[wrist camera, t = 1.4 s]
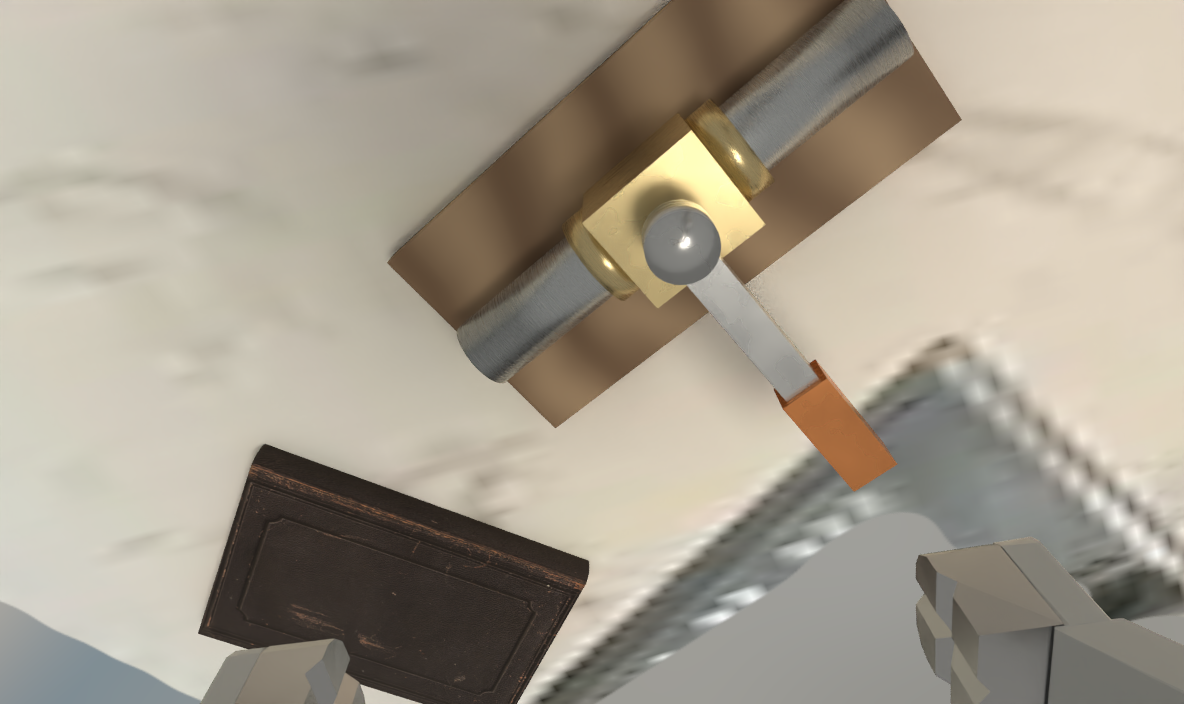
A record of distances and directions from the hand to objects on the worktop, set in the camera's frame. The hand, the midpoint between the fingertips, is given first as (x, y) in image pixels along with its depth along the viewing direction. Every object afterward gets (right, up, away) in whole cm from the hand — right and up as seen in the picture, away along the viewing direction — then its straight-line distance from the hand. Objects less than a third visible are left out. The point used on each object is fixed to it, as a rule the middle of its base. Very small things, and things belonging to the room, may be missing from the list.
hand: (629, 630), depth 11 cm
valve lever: (+8, +4, +25) cm, 26 cm away
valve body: (+3, +13, +31) cm, 34 cm away
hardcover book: (-14, -13, +44) cm, 48 cm away
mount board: (+3, +13, +31) cm, 34 cm away
